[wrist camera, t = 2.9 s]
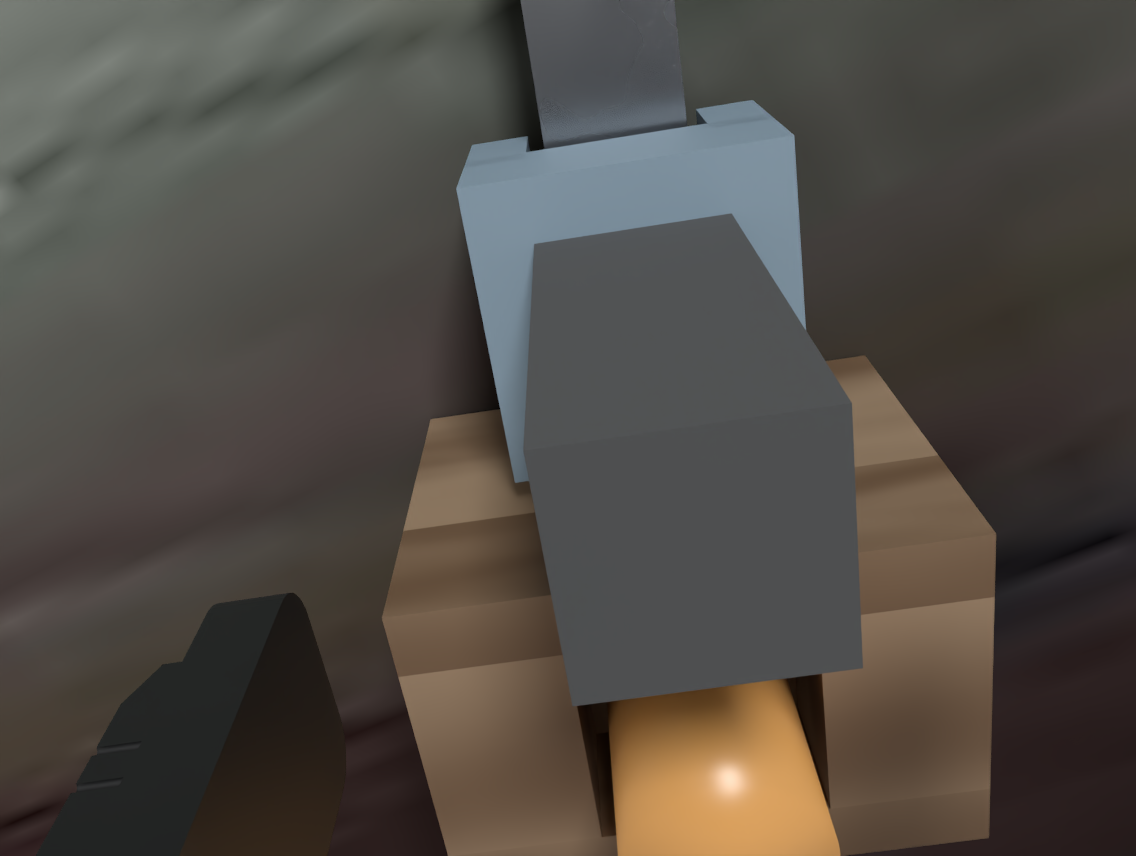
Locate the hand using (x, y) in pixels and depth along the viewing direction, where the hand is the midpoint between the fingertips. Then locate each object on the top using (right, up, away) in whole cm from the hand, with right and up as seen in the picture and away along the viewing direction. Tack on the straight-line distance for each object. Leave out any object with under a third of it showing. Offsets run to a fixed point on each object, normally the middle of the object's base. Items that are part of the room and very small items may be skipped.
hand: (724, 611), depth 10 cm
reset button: (+1, -3, +7) cm, 8 cm away
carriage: (0, +5, +10) cm, 12 cm away
